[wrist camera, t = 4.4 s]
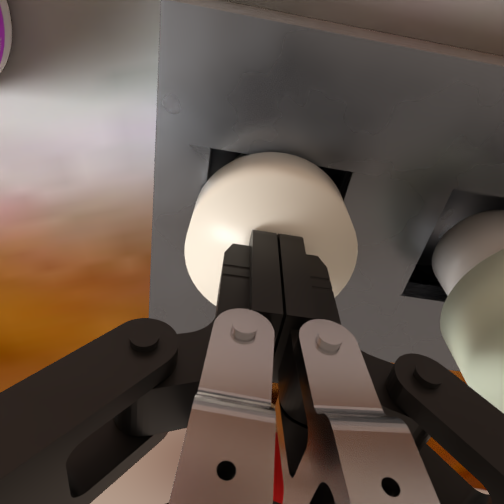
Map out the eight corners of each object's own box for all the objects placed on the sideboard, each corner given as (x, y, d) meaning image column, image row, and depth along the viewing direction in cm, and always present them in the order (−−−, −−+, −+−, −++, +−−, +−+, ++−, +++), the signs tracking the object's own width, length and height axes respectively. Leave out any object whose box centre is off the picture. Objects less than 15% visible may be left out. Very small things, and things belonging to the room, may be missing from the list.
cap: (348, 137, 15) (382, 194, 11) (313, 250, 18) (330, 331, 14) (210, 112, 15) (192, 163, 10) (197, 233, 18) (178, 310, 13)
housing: (748, 105, 17) (947, 154, 12) (577, 311, 24) (662, 397, 19) (192, -6, 15) (161, -2, 10) (173, 252, 22) (148, 330, 17)
